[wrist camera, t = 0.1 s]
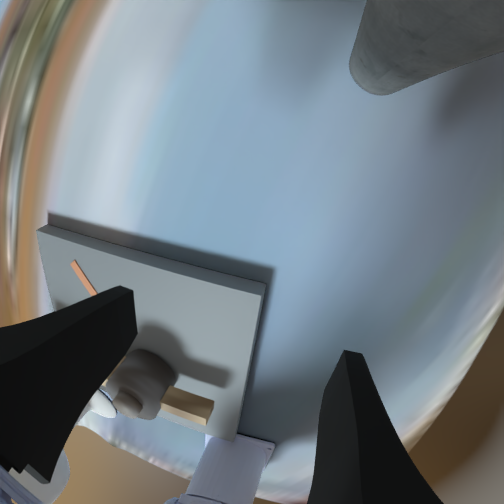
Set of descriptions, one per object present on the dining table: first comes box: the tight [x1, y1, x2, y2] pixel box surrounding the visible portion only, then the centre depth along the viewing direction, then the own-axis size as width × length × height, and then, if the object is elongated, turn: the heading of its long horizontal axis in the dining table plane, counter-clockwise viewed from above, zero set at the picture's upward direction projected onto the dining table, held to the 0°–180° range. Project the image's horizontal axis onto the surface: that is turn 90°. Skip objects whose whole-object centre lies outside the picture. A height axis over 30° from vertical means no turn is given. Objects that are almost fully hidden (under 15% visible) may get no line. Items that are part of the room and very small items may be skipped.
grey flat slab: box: [36, 224, 266, 442], centre depth 26 cm, size 20×22×2 cm
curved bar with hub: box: [102, 350, 214, 426], centre depth 23 cm, size 19×5×5 cm, turn 82°
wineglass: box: [8, 390, 117, 504], centre depth 27 cm, size 9×9×21 cm
